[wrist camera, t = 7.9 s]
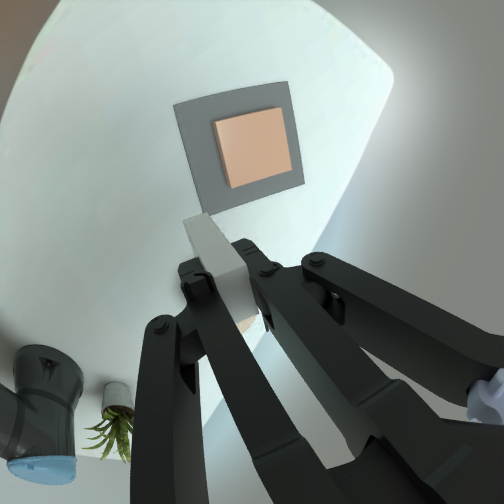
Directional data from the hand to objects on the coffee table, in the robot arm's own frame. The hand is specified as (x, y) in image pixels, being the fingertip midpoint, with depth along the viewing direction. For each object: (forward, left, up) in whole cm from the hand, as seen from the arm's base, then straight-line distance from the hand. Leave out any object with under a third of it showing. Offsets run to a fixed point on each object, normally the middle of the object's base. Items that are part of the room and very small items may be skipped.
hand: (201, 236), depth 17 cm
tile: (+7, 0, -20) cm, 21 cm away
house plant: (-26, -34, -22) cm, 48 cm away
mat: (+11, 0, -22) cm, 24 cm away
